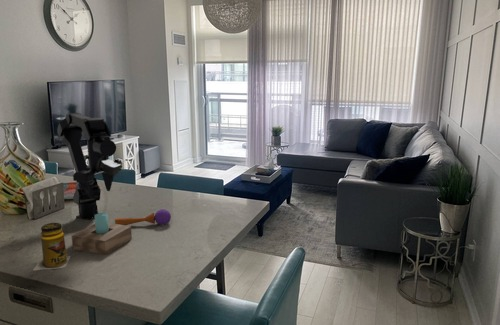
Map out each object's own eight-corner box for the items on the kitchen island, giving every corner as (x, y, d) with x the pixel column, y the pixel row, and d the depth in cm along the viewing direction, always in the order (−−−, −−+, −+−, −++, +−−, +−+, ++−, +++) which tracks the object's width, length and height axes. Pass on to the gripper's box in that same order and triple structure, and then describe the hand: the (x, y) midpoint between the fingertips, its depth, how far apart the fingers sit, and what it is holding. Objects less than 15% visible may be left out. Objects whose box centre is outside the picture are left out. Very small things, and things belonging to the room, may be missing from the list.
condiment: (65, 267, 109) (60, 228, 106) (32, 271, 107) (27, 231, 105) (70, 256, 116) (66, 219, 113) (40, 259, 114) (36, 222, 112)
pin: (93, 242, 124) (91, 216, 122) (102, 237, 128) (100, 212, 126) (103, 243, 123) (101, 217, 121) (112, 239, 126) (110, 213, 124)
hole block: (72, 248, 121) (71, 235, 120) (100, 233, 133) (99, 221, 132) (106, 254, 117) (104, 241, 116) (131, 238, 129) (131, 226, 128)
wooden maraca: (117, 213, 143) (170, 207, 145) (118, 229, 143) (172, 222, 145) (113, 216, 137) (169, 209, 139) (115, 232, 137) (170, 225, 139)
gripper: (96, 159, 124) (100, 204, 128) (131, 149, 142) (134, 189, 145) (69, 156, 128) (74, 200, 131) (107, 148, 145) (110, 187, 149)
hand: (100, 194), depth 139 cm, fingers open, 9 cm apart
